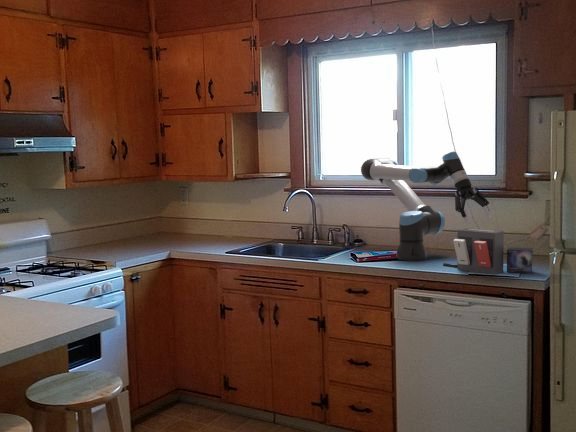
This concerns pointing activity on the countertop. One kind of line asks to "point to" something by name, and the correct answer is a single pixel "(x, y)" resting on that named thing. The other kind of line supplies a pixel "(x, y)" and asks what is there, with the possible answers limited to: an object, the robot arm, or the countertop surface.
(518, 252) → the small box
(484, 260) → the rocker red
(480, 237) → the power unit
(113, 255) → the countertop surface
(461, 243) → the rocker ivory
